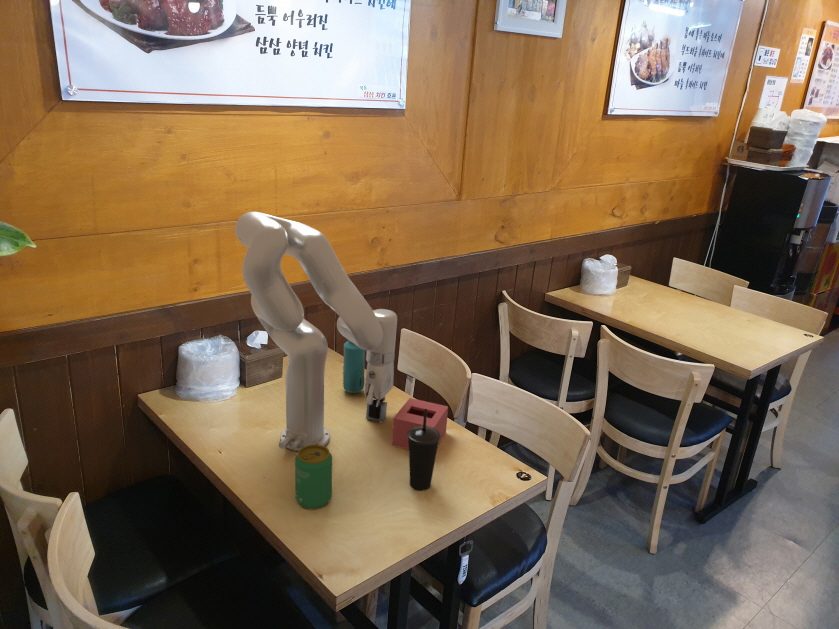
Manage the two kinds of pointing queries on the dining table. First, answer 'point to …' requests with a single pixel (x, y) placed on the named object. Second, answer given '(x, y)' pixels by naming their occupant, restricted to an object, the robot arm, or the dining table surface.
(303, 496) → the beverage can
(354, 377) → the beverage bottle
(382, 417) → the grey flat block
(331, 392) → the dining table surface
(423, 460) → the drinking cup
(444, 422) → the red slotted block
